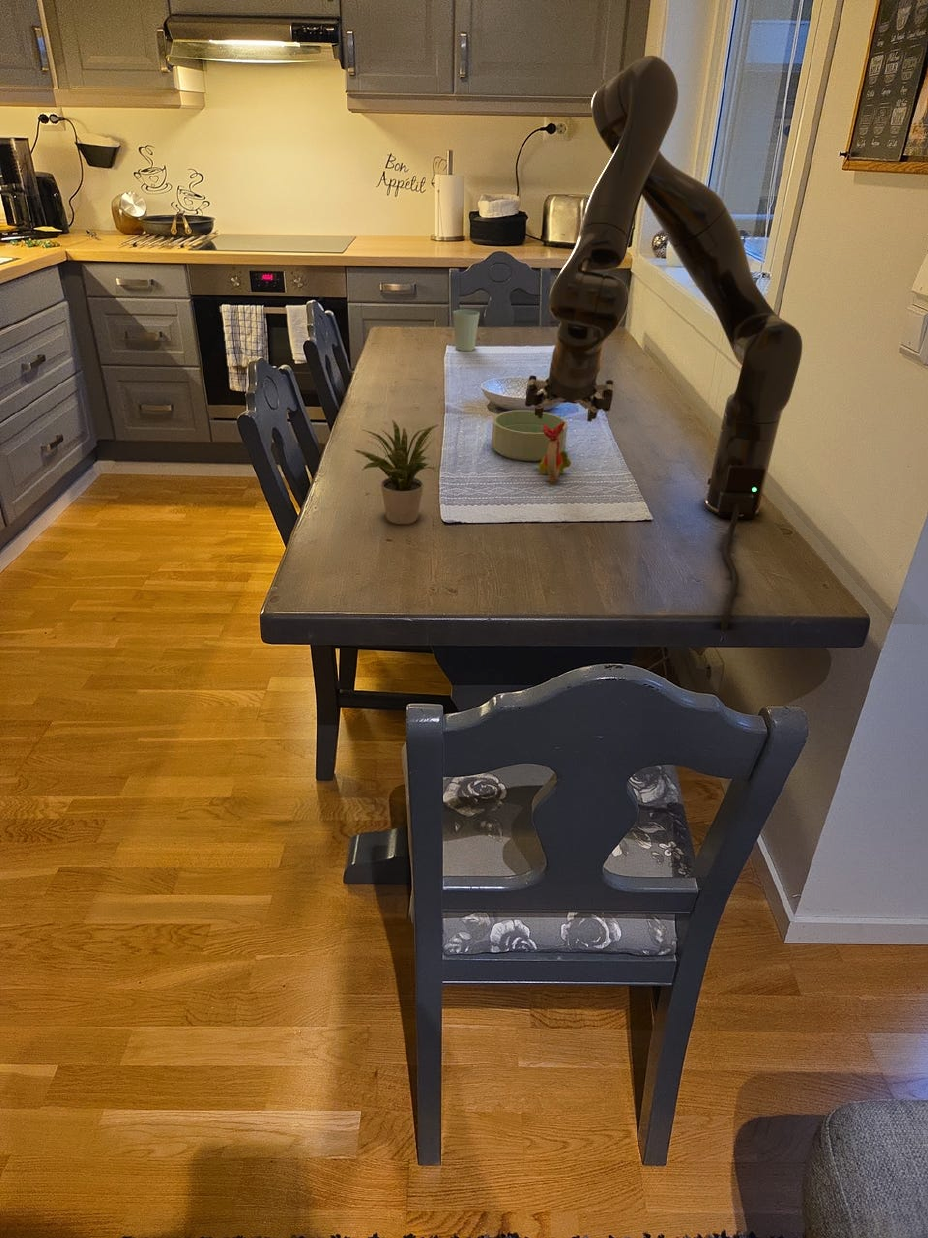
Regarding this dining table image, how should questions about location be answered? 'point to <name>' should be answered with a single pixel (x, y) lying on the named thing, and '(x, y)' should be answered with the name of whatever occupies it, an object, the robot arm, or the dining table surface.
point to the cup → (465, 329)
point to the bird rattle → (554, 454)
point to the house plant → (401, 475)
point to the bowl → (525, 434)
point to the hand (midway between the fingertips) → (564, 415)
